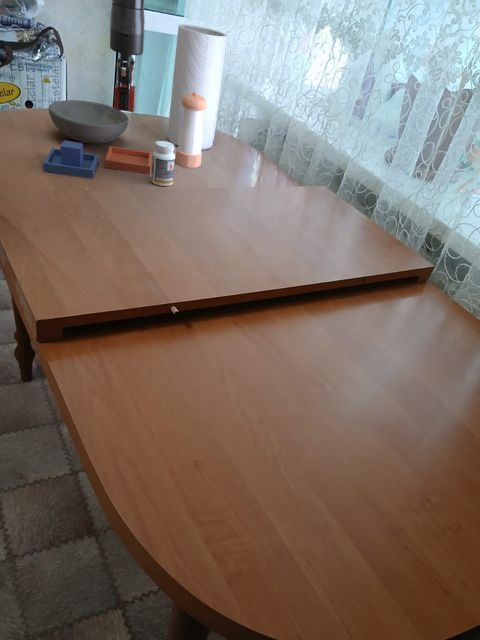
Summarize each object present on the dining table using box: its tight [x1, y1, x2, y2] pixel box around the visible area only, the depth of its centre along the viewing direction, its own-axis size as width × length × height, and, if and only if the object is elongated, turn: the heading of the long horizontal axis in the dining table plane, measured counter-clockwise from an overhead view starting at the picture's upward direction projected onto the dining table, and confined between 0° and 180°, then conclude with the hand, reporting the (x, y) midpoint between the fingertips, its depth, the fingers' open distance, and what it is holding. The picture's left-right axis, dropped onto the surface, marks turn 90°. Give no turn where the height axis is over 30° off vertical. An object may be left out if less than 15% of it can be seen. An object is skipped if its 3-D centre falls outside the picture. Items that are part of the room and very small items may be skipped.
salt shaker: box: [175, 92, 208, 169], centre depth 151 cm, size 7×7×19 cm
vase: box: [167, 23, 228, 151], centre depth 162 cm, size 14×14×32 cm
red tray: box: [104, 145, 153, 175], centre depth 147 cm, size 12×12×2 cm
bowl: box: [48, 99, 130, 145], centre depth 154 cm, size 21×21×8 cm
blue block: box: [60, 140, 84, 167], centre depth 136 cm, size 5×5×5 cm
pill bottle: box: [150, 140, 176, 187], centre depth 138 cm, size 6×6×10 cm
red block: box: [113, 82, 137, 113], centre depth 133 cm, size 5×5×5 cm
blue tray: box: [42, 147, 99, 179], centre depth 137 cm, size 12×12×2 cm
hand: (124, 106), depth 134 cm, fingers closed on red block, 4 cm apart
